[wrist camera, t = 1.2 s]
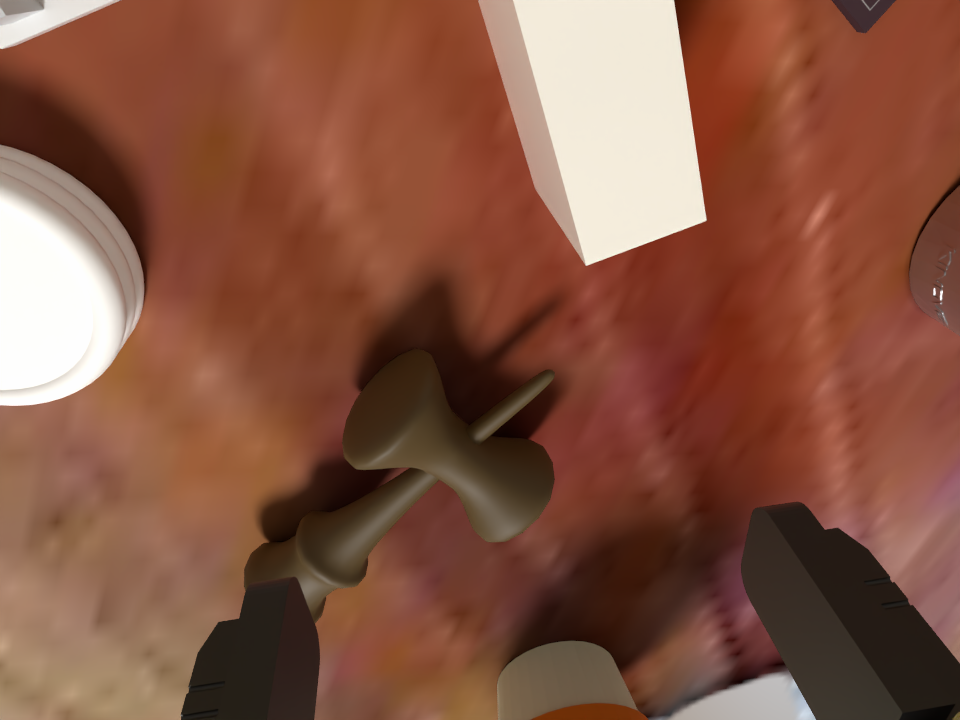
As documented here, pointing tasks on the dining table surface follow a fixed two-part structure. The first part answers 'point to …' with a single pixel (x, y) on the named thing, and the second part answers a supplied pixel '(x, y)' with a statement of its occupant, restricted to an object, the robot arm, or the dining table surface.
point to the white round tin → (60, 282)
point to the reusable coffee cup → (564, 685)
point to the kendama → (414, 476)
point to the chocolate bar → (863, 12)
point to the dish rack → (40, 17)
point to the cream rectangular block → (601, 116)
